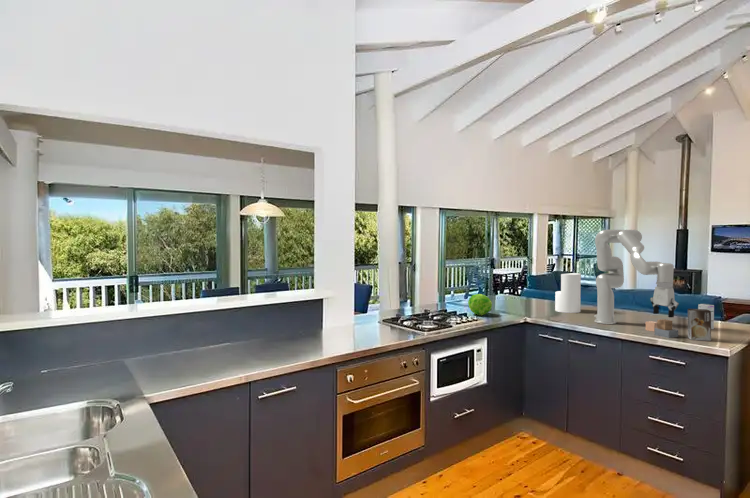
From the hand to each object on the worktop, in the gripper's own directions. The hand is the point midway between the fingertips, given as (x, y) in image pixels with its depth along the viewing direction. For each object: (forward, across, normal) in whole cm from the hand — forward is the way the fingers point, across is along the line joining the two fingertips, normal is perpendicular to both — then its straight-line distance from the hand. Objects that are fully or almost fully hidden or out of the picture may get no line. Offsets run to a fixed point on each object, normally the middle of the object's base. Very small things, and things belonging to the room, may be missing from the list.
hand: (663, 315), depth 248 cm
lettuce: (+15, -87, -68) cm, 111 cm away
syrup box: (+12, -8, +40) cm, 42 cm away
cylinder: (+14, -84, +2) cm, 85 cm away
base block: (+11, +2, +1) cm, 12 cm away
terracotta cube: (+12, -12, +5) cm, 17 cm away
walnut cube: (+7, +1, 0) cm, 8 cm away
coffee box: (+11, +13, +10) cm, 20 cm away
